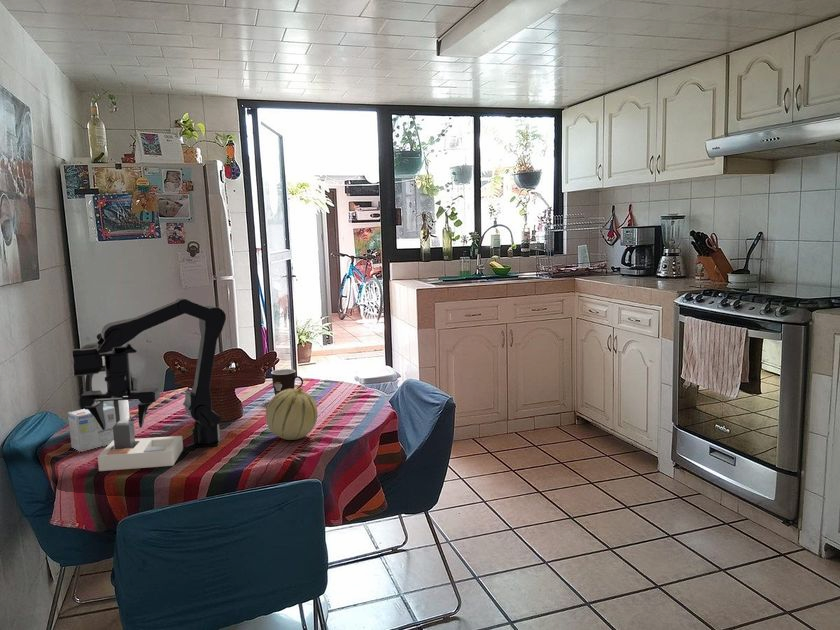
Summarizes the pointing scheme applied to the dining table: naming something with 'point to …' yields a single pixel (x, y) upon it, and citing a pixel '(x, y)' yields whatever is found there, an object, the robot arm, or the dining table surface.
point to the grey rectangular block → (124, 434)
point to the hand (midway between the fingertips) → (122, 428)
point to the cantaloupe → (291, 414)
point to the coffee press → (104, 387)
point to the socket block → (142, 454)
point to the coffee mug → (284, 380)
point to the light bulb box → (91, 429)
